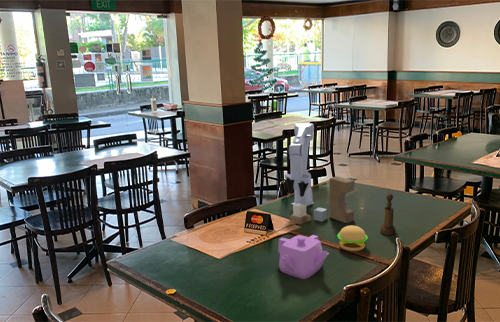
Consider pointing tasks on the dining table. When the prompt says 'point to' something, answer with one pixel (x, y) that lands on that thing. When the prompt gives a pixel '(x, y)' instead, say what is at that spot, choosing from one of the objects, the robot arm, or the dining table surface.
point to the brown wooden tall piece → (388, 218)
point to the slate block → (320, 214)
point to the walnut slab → (300, 218)
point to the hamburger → (352, 238)
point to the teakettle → (301, 256)
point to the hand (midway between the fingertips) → (296, 194)
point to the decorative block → (340, 199)
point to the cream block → (299, 210)
